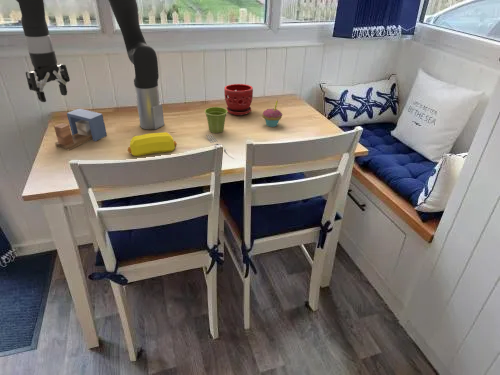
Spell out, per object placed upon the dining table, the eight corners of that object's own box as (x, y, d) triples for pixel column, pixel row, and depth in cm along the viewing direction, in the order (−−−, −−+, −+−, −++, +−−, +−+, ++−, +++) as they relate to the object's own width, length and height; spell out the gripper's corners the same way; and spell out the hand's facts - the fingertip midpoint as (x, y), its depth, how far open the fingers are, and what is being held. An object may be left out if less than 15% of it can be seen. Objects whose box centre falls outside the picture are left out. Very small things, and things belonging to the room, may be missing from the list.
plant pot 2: (257, 110, 174) (258, 86, 167) (242, 119, 164) (242, 93, 158) (234, 105, 180) (234, 81, 173) (219, 113, 170) (218, 87, 164)
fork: (234, 164, 129) (234, 159, 128) (205, 139, 146) (205, 134, 145) (242, 162, 130) (242, 157, 130) (212, 137, 148) (212, 133, 147)
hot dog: (127, 150, 135) (129, 159, 129) (124, 134, 132) (126, 142, 126) (175, 144, 141) (179, 152, 135) (173, 128, 138) (177, 136, 132)
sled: (100, 135, 146) (95, 115, 141) (69, 149, 134) (63, 129, 130) (87, 131, 148) (82, 112, 144) (55, 145, 137) (50, 125, 132)
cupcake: (284, 123, 161) (286, 97, 155) (277, 130, 155) (279, 102, 148) (266, 119, 164) (267, 93, 158) (258, 126, 158) (259, 99, 151)
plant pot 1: (231, 128, 155) (230, 108, 151) (222, 136, 148) (222, 116, 143) (211, 124, 158) (210, 105, 153) (201, 133, 150) (200, 113, 146)
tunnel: (108, 134, 146) (104, 112, 142) (95, 141, 141) (90, 118, 136) (86, 128, 151) (81, 107, 146) (72, 134, 145) (66, 113, 140)
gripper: (29, 55, 112) (43, 106, 120) (67, 47, 123) (78, 94, 131) (13, 52, 114) (28, 102, 123) (51, 45, 125) (63, 91, 134)
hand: (54, 98), depth 127 cm, fingers open, 8 cm apart
